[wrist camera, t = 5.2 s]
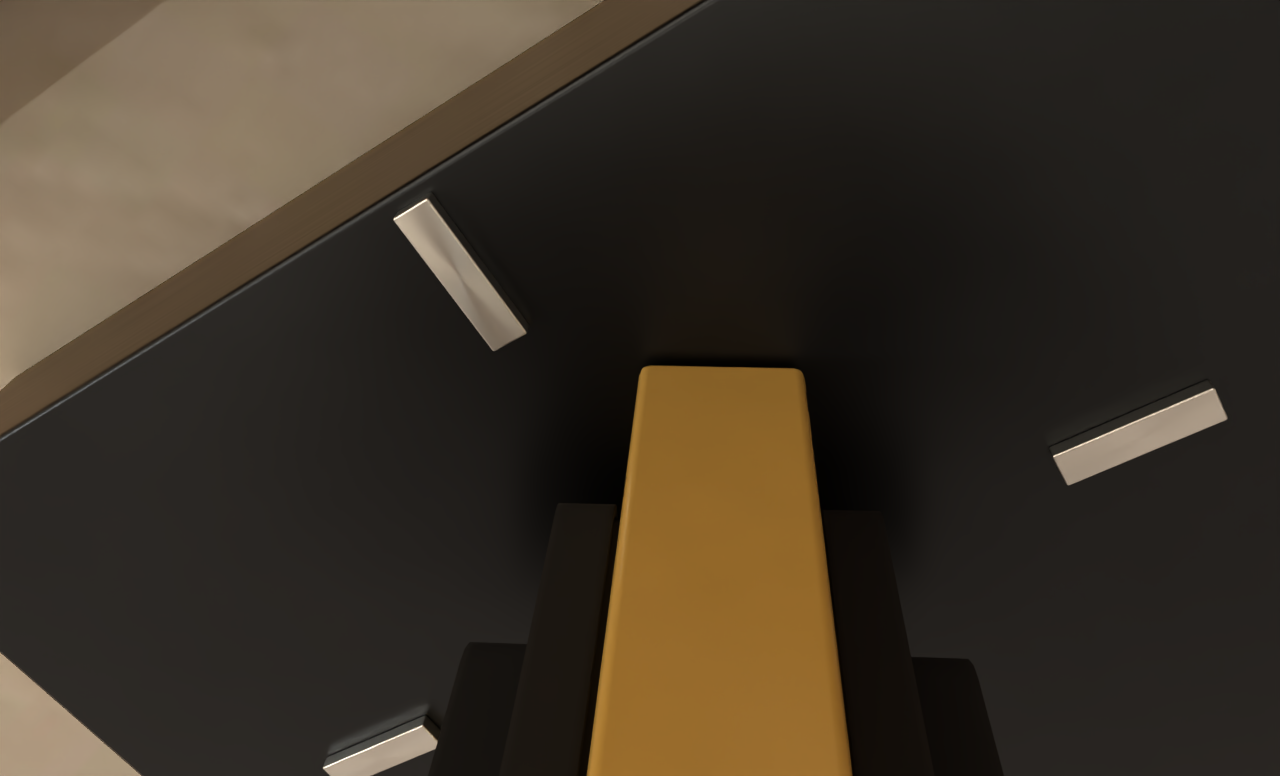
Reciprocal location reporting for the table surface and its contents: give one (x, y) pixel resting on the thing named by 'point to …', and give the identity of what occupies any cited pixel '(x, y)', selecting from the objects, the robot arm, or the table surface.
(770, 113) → the plate
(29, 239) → the table surface
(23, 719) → the table surface
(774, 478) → the yellow flat block
